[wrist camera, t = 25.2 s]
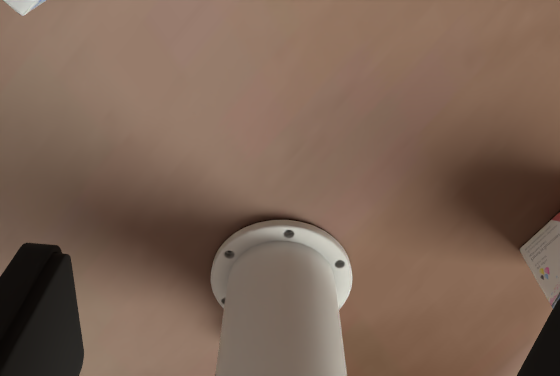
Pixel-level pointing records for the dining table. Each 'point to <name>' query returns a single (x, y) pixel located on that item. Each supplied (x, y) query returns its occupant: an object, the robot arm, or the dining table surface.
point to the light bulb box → (23, 5)
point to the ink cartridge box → (545, 258)
